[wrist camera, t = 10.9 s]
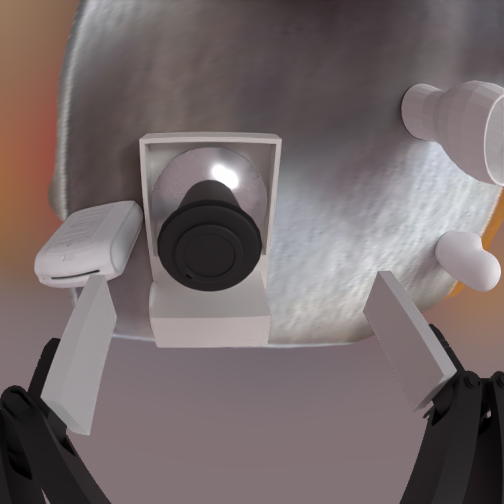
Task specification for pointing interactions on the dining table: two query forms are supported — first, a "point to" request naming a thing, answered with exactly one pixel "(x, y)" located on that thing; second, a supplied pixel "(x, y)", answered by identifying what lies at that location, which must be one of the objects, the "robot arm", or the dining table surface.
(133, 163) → the dining table surface
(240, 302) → the base
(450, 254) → the figurine
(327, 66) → the dining table surface
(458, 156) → the cup
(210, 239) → the coffee cup
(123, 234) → the photo printer
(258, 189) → the pan
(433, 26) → the dining table surface
